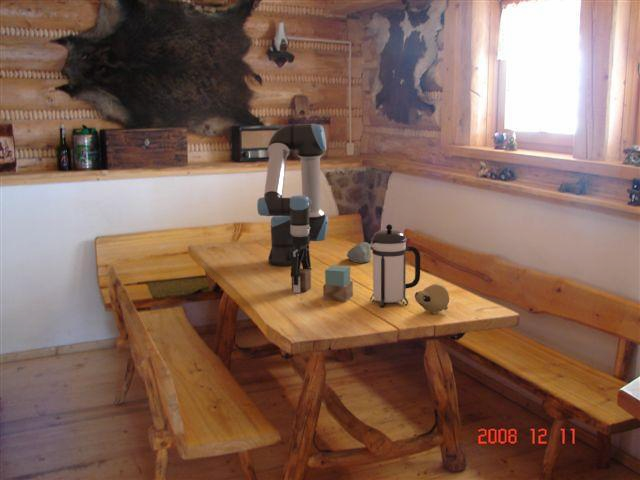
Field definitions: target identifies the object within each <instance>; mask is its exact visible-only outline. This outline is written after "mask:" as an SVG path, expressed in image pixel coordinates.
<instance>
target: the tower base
mask: <svg viewBox="0 0 640 480" xmlns="http://www.w3.org/2000/svg"><path fill="white" fill-rule="evenodd" d="M353 285H354V283H353V281H352V280H350V282H349V283H348V284H347V285H346V286H344V287H340V286H329V285H325V284H324V285H322V288H323V289H322V292H323V294H322V295H323V296H322V297H323V301H324V302H336V303H337V302H339V303H347V302H348V301H349V300H350V299H351V298H352V297H353V295H354V294H353V293H354V290H353V289H354V288H353V287H354V286H353Z"/></svg>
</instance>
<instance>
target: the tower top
mask: <svg viewBox="0 0 640 480" xmlns="http://www.w3.org/2000/svg"><path fill="white" fill-rule="evenodd" d="M324 272H325V273H324V277H325V278H324V279H325V280H324V281H325V282H324V283H325V284H324V285H329V286H340V287H344V286H346V285H347V284H348V283H349V282H350V281H351V266H346V265H345V266H343V265H331V266H329V267H327V268H326V269H325V270H324Z"/></svg>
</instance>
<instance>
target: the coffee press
mask: <svg viewBox="0 0 640 480" xmlns="http://www.w3.org/2000/svg"><path fill="white" fill-rule="evenodd" d="M385 228H386V229H384V230H379V231H377V232H375V233H374V234H373V237H371V242H370V243H369V245H370V248H371V249H372V250H371V251H372V252H371V254H372V267H373V268H372V285H373V286H372V288H373V289H372V295H371V297H370V301H372V302H373V301H378V302H380V303H379V307H380V308H382V307H383V308H382V309H384V308H385V306H386V305H387V304H389V303H392V304H393V303H398V302H401V303H402V304H403V305H404V306H407V305H408V304H409V301H408V299H407V297H406V289H412V288H414V287H416V286H417V285H418V284H419V282H420V279H421V254H420V252H419V249H418V248H416V247H414V246H411V245H408V246H406V242H407V240H408V239H407V237H406V235H405V234H404V232H402V231H399V230H397V229H396V230H394V229H393V226H392V224H389V223H388V224H387V225H386V227H385ZM407 252H412V253H413V254H414V256H415V257H414V258H415V259H414V264H415V265H414V279H413V281H411V282H410V283H409V282H408V283H406V269H407V268H406V261H407V260H406V259H407V258H406V254H407ZM405 304H406V305H405Z"/></svg>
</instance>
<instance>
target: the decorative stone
mask: <svg viewBox="0 0 640 480" xmlns="http://www.w3.org/2000/svg"><path fill="white" fill-rule="evenodd" d="M371 249H372V247H371V248H370V243H369V242H365V241H364V242H359V243H357V244H356V245H354V246H353V247H352V248H351V249H350V250H348V251H347V253H346V257H347V258H348V260H349V261H351V262H353V263H358V264H365V263H369V262H371V260H372V252H371V251H372V250H371Z"/></svg>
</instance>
